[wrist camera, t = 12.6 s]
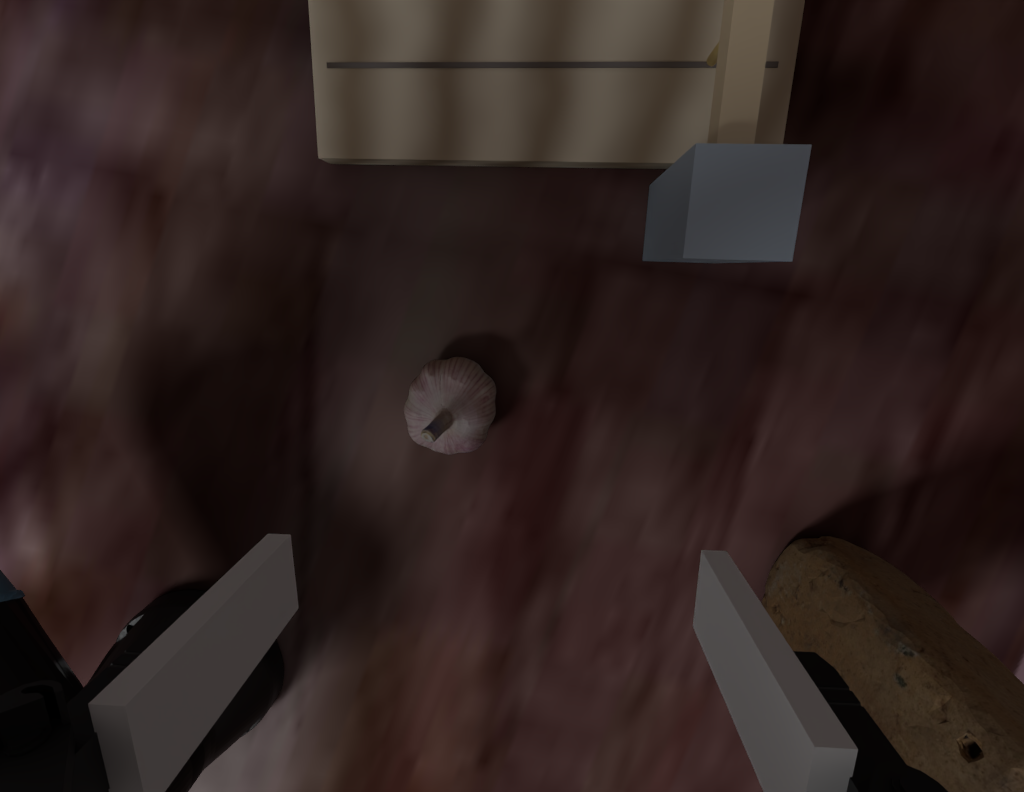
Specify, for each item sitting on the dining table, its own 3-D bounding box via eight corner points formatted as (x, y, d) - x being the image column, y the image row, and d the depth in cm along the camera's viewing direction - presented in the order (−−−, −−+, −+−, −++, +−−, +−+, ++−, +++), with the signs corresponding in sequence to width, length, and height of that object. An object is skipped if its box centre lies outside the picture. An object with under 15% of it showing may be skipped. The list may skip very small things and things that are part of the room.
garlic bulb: (437, 458, 41) (408, 503, 33) (392, 379, 39) (351, 407, 32) (519, 419, 39) (509, 457, 31) (475, 337, 38) (453, 354, 30)
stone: (801, 512, 39) (1039, 754, 20) (888, 550, 39) (1210, 827, 20) (731, 618, 42) (879, 921, 22) (813, 653, 42) (1029, 983, 23)
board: (331, 163, 36) (317, 157, 34) (319, -36, 32) (304, -56, 30) (766, 170, 33) (780, 164, 31) (798, -45, 30) (816, -67, 28)
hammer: (642, 260, 35) (682, 258, 24) (661, 51, 32) (720, -71, 20) (714, 263, 35) (792, 261, 23) (742, 51, 32) (848, -74, 20)
